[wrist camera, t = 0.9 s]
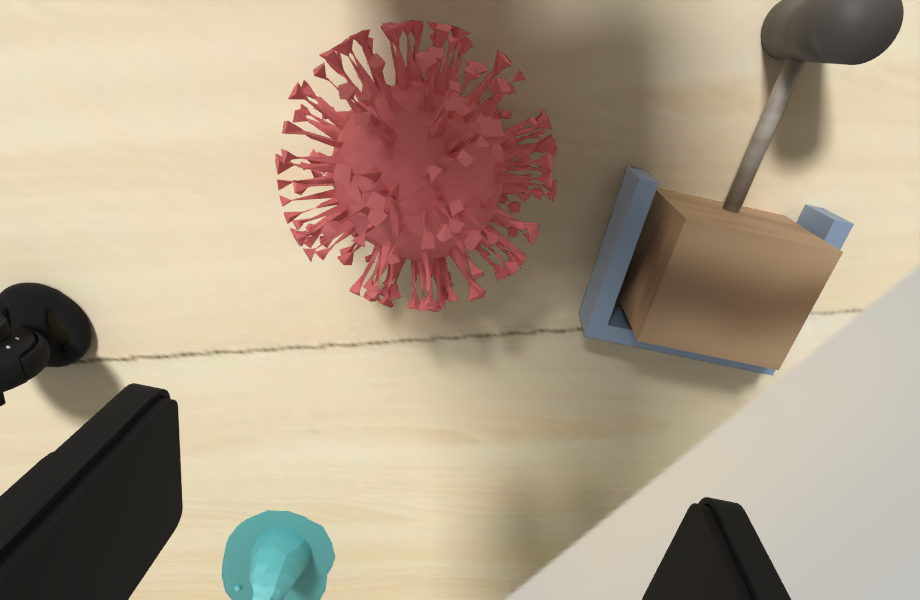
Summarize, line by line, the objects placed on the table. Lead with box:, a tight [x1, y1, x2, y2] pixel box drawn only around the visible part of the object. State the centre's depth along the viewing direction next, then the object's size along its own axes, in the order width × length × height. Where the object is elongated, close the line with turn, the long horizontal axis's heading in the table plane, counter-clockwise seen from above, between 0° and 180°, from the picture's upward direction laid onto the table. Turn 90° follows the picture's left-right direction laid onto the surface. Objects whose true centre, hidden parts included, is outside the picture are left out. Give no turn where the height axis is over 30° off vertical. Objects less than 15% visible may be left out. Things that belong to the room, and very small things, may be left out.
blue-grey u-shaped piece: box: [579, 166, 854, 375], centre depth 37 cm, size 11×13×4 cm
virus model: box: [275, 20, 557, 312], centre depth 29 cm, size 15×15×15 cm
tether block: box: [618, 0, 903, 370], centre depth 32 cm, size 20×9×7 cm, turn 169°
